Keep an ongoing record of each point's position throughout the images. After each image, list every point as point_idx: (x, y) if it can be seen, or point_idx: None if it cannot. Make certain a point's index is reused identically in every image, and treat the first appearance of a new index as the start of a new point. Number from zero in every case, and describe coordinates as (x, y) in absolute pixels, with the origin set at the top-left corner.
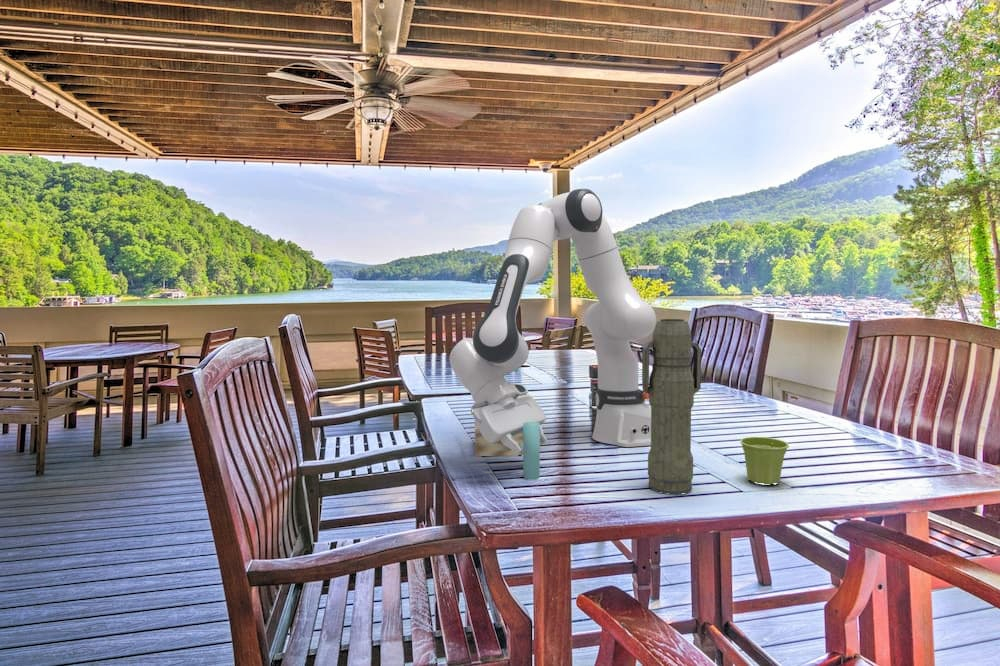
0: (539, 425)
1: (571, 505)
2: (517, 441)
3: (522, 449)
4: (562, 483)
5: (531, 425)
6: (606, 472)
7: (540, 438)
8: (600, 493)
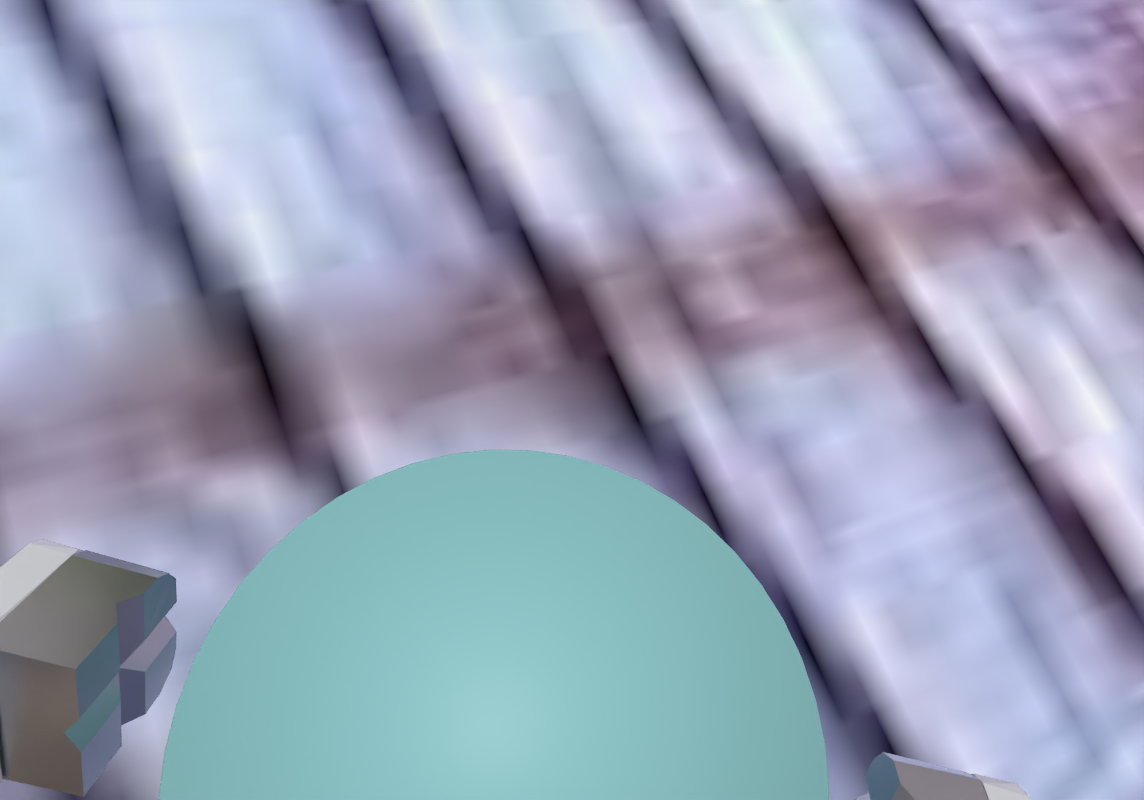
0: (458, 466)
1: (1055, 146)
2: None
3: (923, 765)
4: (576, 337)
5: (779, 657)
6: (99, 45)
7: (116, 650)
8: (697, 9)
